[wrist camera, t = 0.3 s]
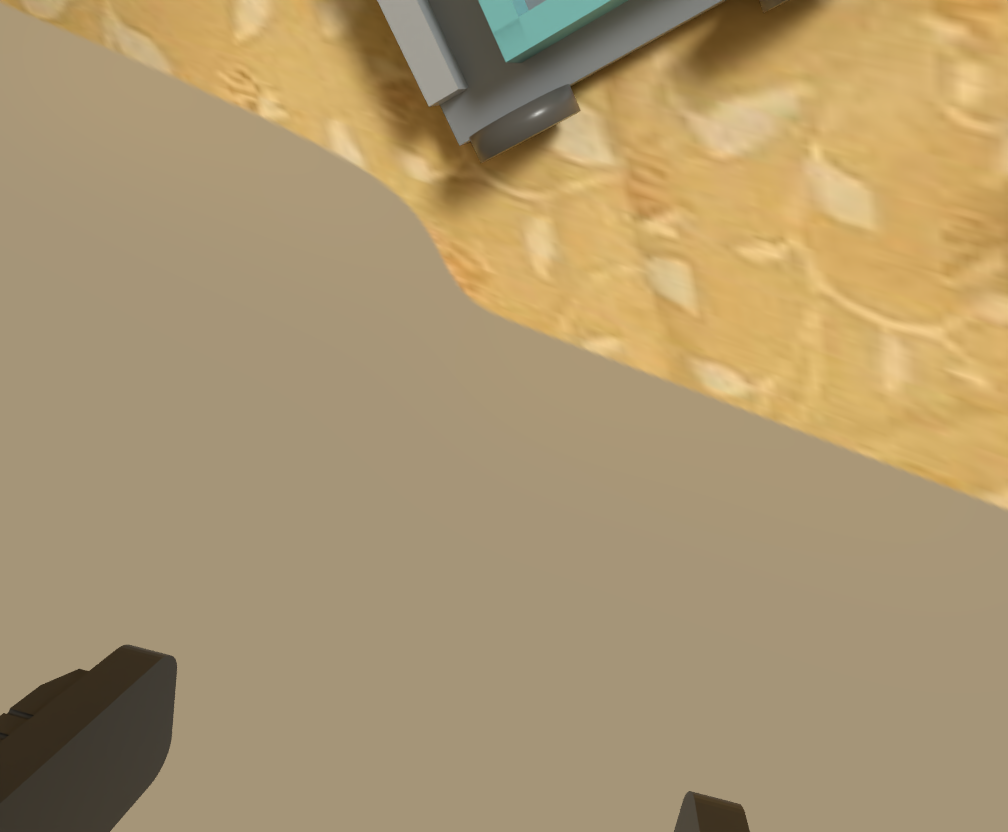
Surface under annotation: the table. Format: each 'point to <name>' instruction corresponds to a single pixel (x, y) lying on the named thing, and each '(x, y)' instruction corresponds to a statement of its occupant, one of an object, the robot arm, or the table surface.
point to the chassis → (522, 56)
